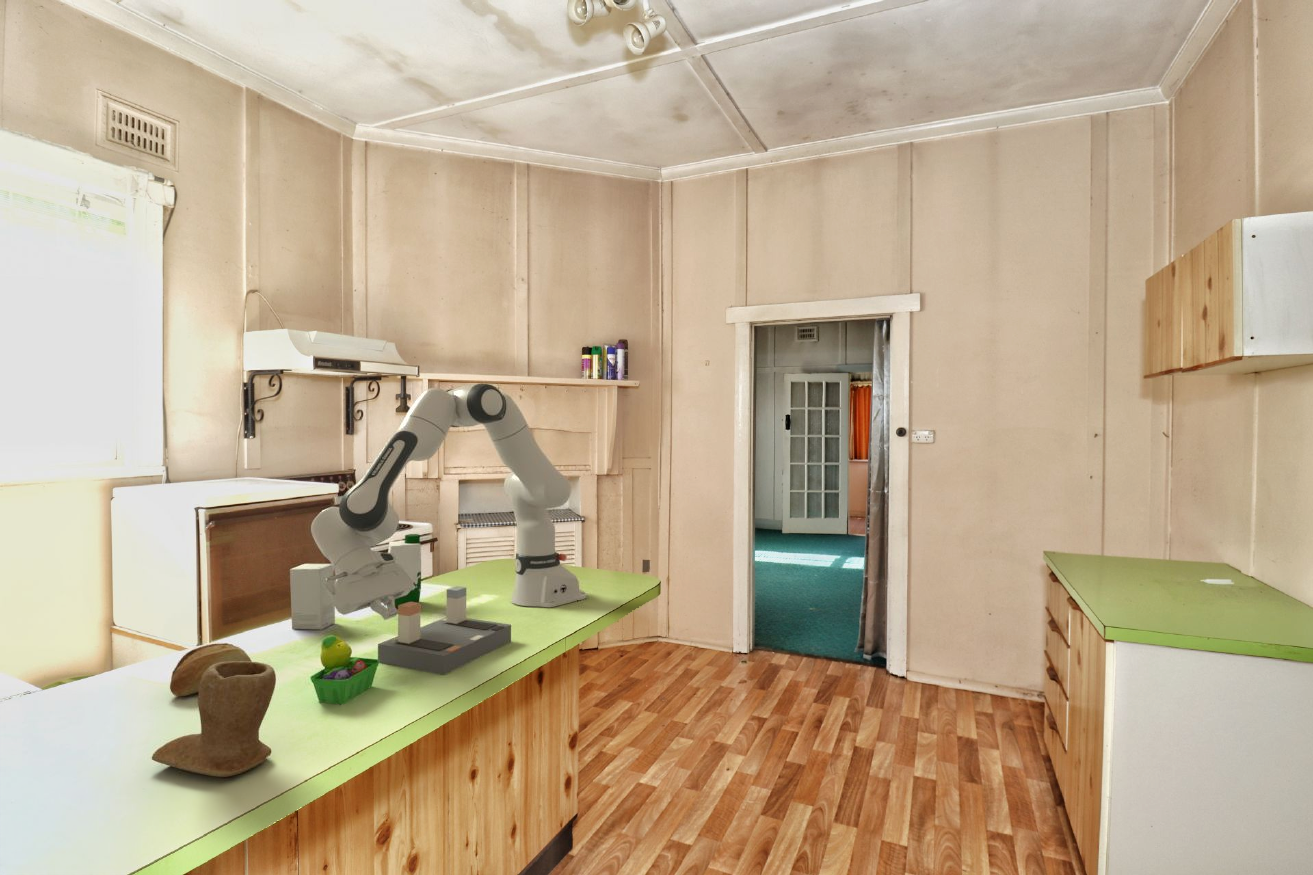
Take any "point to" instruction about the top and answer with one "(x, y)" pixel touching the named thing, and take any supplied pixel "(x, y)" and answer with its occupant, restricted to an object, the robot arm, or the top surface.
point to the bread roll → (201, 666)
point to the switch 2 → (456, 604)
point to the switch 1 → (409, 622)
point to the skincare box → (311, 597)
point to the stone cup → (226, 721)
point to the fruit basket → (342, 672)
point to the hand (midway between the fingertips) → (392, 616)
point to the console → (445, 645)
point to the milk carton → (409, 564)
